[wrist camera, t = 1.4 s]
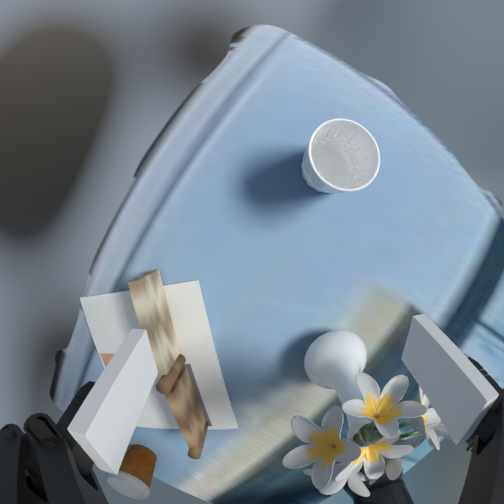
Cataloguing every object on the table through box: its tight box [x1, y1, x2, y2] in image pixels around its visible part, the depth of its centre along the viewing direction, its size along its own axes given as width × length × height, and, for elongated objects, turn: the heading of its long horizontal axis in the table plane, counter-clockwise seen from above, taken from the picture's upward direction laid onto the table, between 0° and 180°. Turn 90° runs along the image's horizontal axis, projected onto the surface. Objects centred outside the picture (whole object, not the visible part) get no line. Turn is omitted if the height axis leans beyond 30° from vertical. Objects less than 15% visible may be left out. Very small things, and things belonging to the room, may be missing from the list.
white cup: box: [301, 119, 380, 193], centre depth 30 cm, size 8×8×10 cm
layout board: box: [80, 280, 238, 430], centre depth 40 cm, size 28×22×1 cm
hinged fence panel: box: [128, 269, 181, 375], centre depth 34 cm, size 13×2×7 cm, turn 10°
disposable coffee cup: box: [107, 445, 157, 500], centre depth 38 cm, size 10×10×12 cm
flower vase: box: [282, 330, 452, 497], centre depth 26 cm, size 13×18×25 cm
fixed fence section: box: [156, 354, 209, 459], centre depth 36 cm, size 16×2×8 cm, turn 10°
